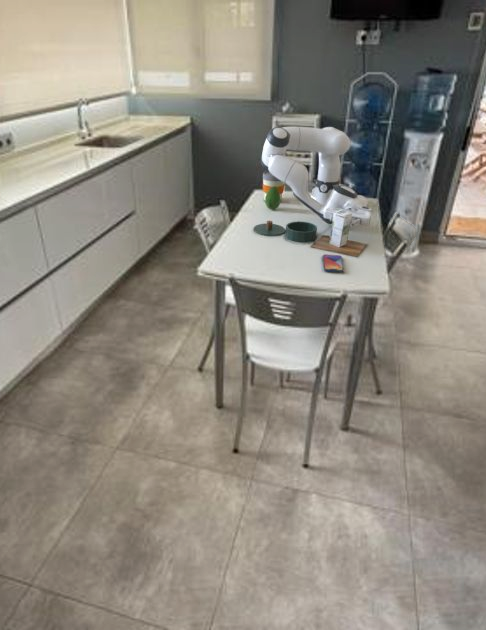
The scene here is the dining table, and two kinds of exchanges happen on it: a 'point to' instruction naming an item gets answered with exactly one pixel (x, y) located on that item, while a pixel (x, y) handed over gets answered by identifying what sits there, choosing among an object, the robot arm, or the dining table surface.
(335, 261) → the smartphone
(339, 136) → the robot arm
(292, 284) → the dining table surface
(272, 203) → the avocado
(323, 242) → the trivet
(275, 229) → the pot lid
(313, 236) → the pot
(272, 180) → the reusable coffee cup
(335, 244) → the syrup box
